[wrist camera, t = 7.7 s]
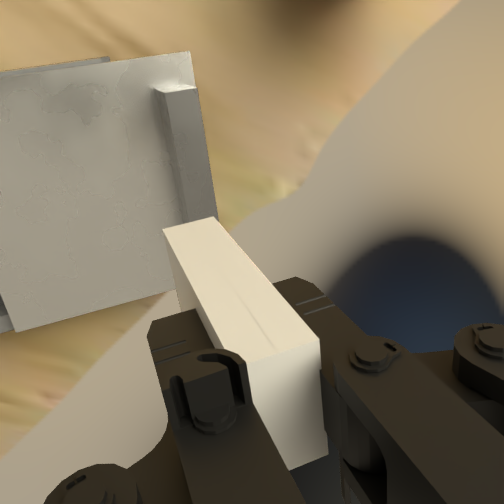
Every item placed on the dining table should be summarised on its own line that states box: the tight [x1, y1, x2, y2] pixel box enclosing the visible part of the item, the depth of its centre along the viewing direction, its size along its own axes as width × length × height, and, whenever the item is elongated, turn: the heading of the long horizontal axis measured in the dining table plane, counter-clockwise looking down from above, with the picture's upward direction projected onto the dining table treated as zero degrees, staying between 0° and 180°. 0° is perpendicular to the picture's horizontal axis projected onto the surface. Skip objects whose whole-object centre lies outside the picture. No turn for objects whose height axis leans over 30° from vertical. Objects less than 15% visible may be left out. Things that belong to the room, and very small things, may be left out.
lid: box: [0, 51, 219, 333], centre depth 23 cm, size 13×12×3 cm
